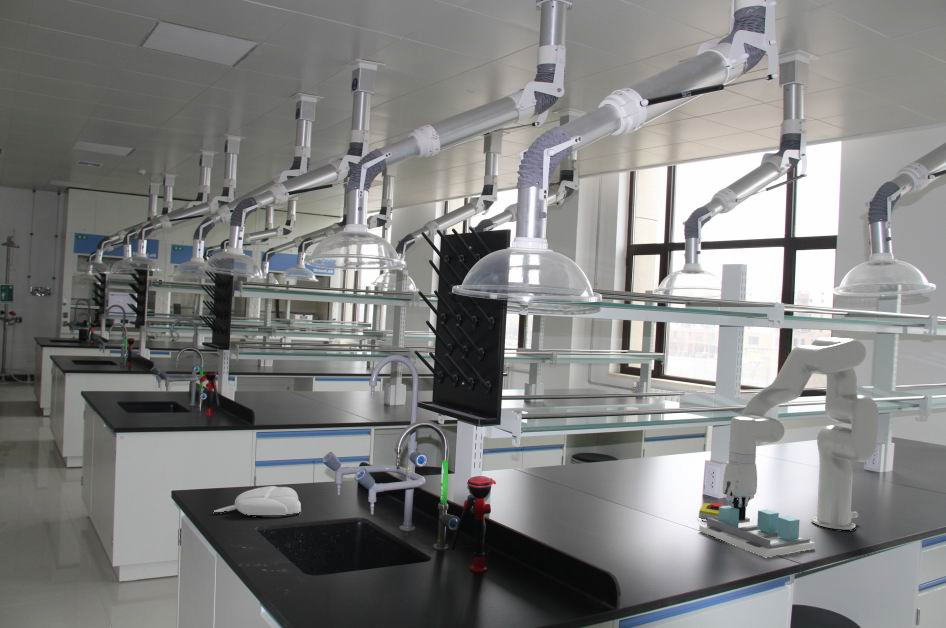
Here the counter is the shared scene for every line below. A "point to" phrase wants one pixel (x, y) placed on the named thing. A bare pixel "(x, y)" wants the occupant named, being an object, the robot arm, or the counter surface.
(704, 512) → the emergency button
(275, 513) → the white computer mouse
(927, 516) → the counter surface
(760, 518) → the light teal block
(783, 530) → the teal rectangular block
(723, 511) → the teal rectangular block
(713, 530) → the white ridged tray
